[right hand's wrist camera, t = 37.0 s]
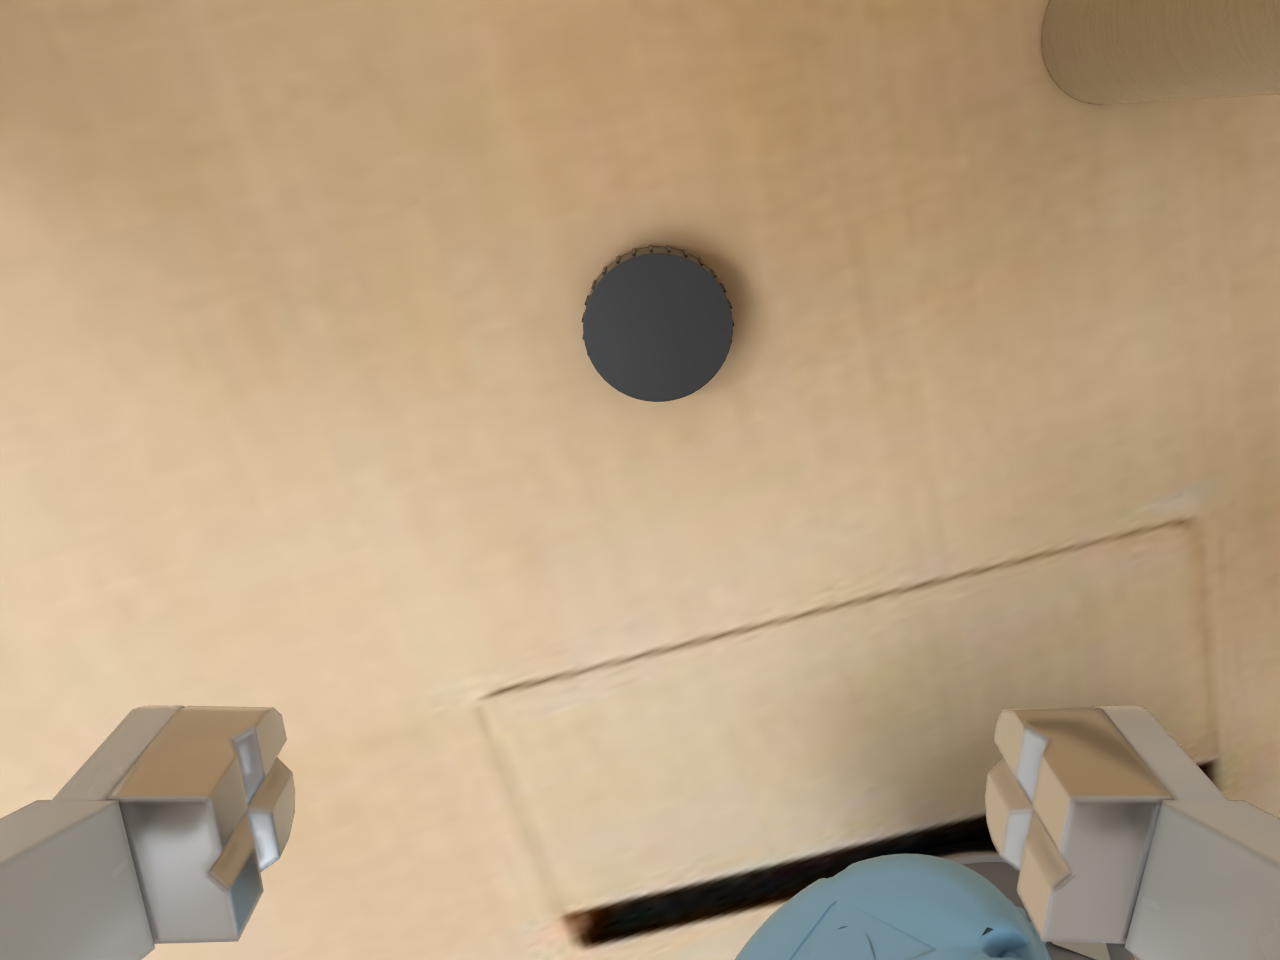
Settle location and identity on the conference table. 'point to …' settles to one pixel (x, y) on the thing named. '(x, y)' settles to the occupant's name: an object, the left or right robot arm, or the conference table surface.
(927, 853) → the left robot arm
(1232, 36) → the jar
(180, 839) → the right robot arm
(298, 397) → the conference table surface
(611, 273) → the lid
